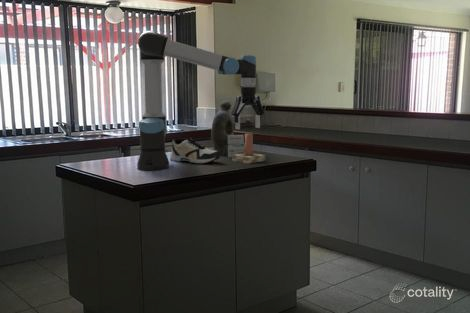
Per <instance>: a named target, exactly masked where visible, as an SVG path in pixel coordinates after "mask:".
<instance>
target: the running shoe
mask: <svg viewBox="0 0 470 313" xmlns="http://www.w3.org/2000/svg"><path fill="white" fill-rule="evenodd" d="M169 158H170V161H172V162H184V161H185V162H186V161H187V162H189V163H190V164H191V163H192V164H193V163H194V164H198V165H199V164H208V163H211V162H214V161H216V160H218V159H220V158H221V155H220V152H219V151H214V150H213V149H210V148H208V147H206V146H205V145H202V144H200V143H199V142H197V141H195V140H193V139H192V138H187V139H185V140H183V141H182V140H181V139H180V138H176V139H172V143H171V154H170V157H169Z"/></svg>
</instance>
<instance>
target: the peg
mask: <svg viewBox="0 0 470 313" xmlns="http://www.w3.org/2000/svg"><path fill="white" fill-rule="evenodd" d="M244 153H245V156H253V153H254V134H253V133H244Z"/></svg>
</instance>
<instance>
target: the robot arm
mask: <svg viewBox="0 0 470 313" xmlns="http://www.w3.org/2000/svg"><path fill="white" fill-rule="evenodd" d="M137 45H138V48H139V51H140V54H139V55H140V61H141V63H142V64H143V76H144V77H143V78H144V79H143V80H144V83H143V84H144V85H143V86H144V110H145V112H144V113H143V115H142V118H141V120H140V121H139V125H138V128H139V145H140V153H139V157H138V160H137V164H136V167H137V170H141V171H143V170H144V171H160V170H165V169H169V168H170V161H169V159H168V156H167V153H166V140H165V138H166V135H167V133H168V130H167V119H166V118H167V116H166V114H164V112H163V111H164V110H163V83H162V82H163V80H162V79H163V77H162V76H163V74H162V64H163V63H164V61H165V58H166V57H168V58H172V59H177V60H179V61H183V62H186V63H190V64H192V65H196V66H201V67H204V68H207V69H211V70H214V71H217V74H218V75H224V76H225V75H227V76H228V75H231V76H232V75H240V86H241V87H240V95H241V96H240V95H239V96H238V95H237V96H236V99H235V103H234V105H233V108H232V110H231V112H230V114H231V115H230V116H233V117H234V120H233V123H235V124H234V127H235V128H234V130H241V116H240V115H241V113H242V111H243V110H244V108H245V107H247V106H251V108H252V109H253V110H254V112H255V126H254V128H258V129H260V128H261V121H262V119H261V118H262V116H263V114H265V112H264V108H263V105H262V102H261V98H260V95H256V93H257V91H256V88H257V87H256V86H257V85H256V84H257V83H256V82H257V57H256V56H255V55H252V54H251V55H250V54H248V55H247V54H246V55H241V56H240V59H239V58H238V59H236V58H235V57H229V56H226V55H224V54H223V55H222V54H219V53H216V52H212V51H209V50H206V49H202V48H199V47H195V46H193V45H188V44H186V43H181V42H178V41H176V40H175V41H174V40H171V38H170V37H169V36H167V35H164V34H161V33H158V32H157V31H154V30H146V31H144V32H142V33H141V35H140V36H139V37H138V41H137Z"/></svg>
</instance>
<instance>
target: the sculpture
mask: <svg viewBox="0 0 470 313" xmlns="http://www.w3.org/2000/svg"><path fill="white" fill-rule="evenodd" d="M219 108H220V109H219V110H218V111H217V112H216V113H215V115H214V117H213V120H212V124H211V129H210V138H211V141H212V146H213V148H212V150H214V151H219V152H220V156H225V155H227V156H228V136H229V135H235V132H234V130H235V128H234V127H235V124H234V120H233V119H232V115H230V114H231V113H230V112H229V111H230V110H231V109H232V103H231V101H230V100H223V101H222V102H221V103H220V104H219Z"/></svg>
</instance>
